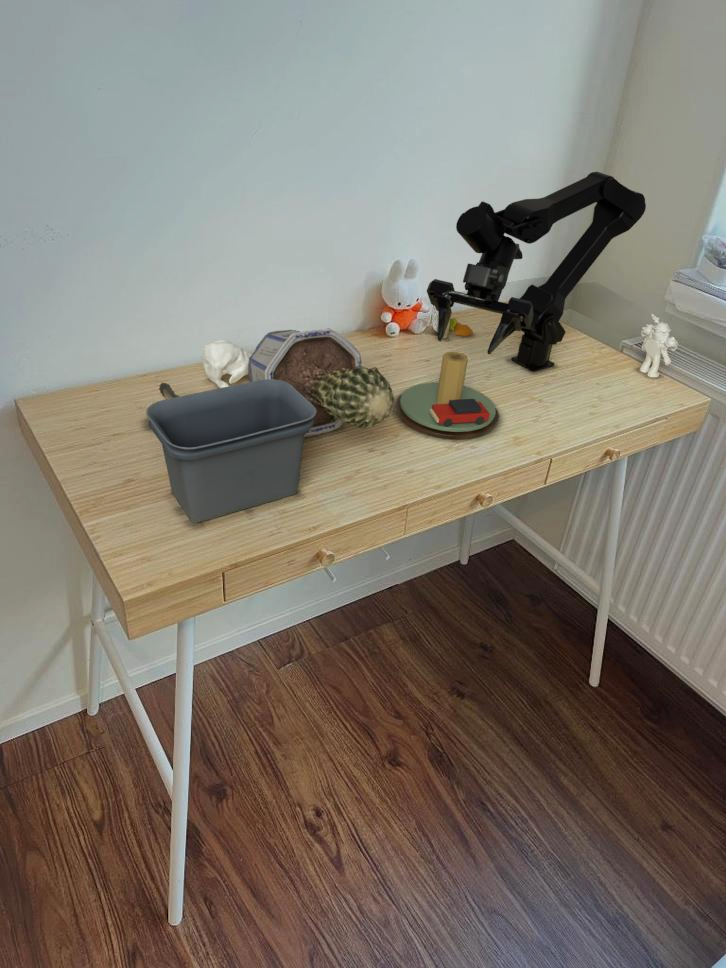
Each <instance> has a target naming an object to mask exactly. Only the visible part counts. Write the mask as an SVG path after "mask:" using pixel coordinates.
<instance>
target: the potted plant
mask: <svg viewBox="0 0 726 968" xmlns="http://www.w3.org/2000/svg"><path fill="white" fill-rule="evenodd" d="M251 354H252V355H251V357H250V358H249V362H248V375H247V376H248V382H253V381H259V380H266V379H274V380H281V381H285V382H287V383H289V384H290V385H292V386H293V387H294V388H295V389H296V390H297V391H298V392H299V393H300V394H302V395H303V396H304V397H305V398H306V399H307V400H308V401H309V402H310V403H311V404H312V405H313V406H314V407H315V408H316V411H317V412H316V415H315V416H314V417H313V421H314V425H313V427H312V428H311V429H310V430H308V431H306V432H305V435H304V438H308V437H313V436H318V435H320V434H326V433H329V432H332V431H335V430H337V429H340V428H341V426H342V425H343V424H346V425H347V426H351V427H352V426H354V427H357V428H360V429H366V428H368V427H372V428H373V427H375V426H377V425H378V424H380V423H382V422H384V421H385V420H386V419H387V418H390V413H391V412H392V411H393V409H394V407H393V405H394V403H396V399H395V397H394V392H393V390H392V387H391V384H390V381H388V380H387V378H386V377H384V375H383V374H382V373H381V372H380V371H379V368H378V367H377V366H374V367H371V368H369V367H365V366H364V365H363V364H362V358H361V357H362V356H361V352H360V351H359V349H358V348H357V347H356V346H355V345H354V344H353V343H351V342H350V341H349V340H348V339H347V338H346V337H344V336H343V335H341V334H340V333H338V332H337V331H335V330H334V329H331V328H327V327H326V328H321V329H312V330H302V331H300V330H296V329H285V330H284V329H283V330H273V331H269V332H267V333H266V334H264V336H263V337H262V339H261V340H260V341H259V343H257V345H256V347H255V349H254V351H253V352H252V353H251Z"/></svg>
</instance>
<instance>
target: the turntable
mask: <svg viewBox="0 0 726 968" xmlns="http://www.w3.org/2000/svg"><path fill="white" fill-rule="evenodd" d="M468 361H469V357H468V355H467V354H465V353H463V352H459V351H447V352H444V353H443V354H442V359H441V366H440V372H439V379H438V381H436V382H435V381H433V382H431V381H430V382H425V383H418V384H416V385H412V386H411V387H409V388H407V389H406V390H405V391H404V392H403V393H401V394H402V396H401V399H400V406H401V409H402V411H403V412H404V413H405V414H406V415H407V416H408V417H409V418H410V419H412V420H413V421H415V422H417V423H419V424H421V425H424V426H426V427H429V428H433V429H437V430H442V431H450V432H467V431H473V430H478V429H481V428H483V427H485V426H487V425H489V424H490V423H491V422H492V421H493V420H494V417H495V413H496V409H497V408H496V406H495V404H494V403H493V401H492V400H491V399H490V398H489V397H488V396H486V395H485V394H484V393H482V392H481V391H478V390H476V389H474V388H472V387H468V386H464V385H465V380H466V373H467V367H468V363H469V362H468ZM495 408H496V409H495Z"/></svg>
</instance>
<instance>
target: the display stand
mask: <svg viewBox="0 0 726 968" xmlns="http://www.w3.org/2000/svg"><path fill="white" fill-rule="evenodd" d="M402 394H403V393H401V394H400V395H399V396H398V398H397V399H396V401H395V413H396V415H397V417H398V418H399V420H400V421H401V422H402V423H403V424H405V425H406V426H407V427H409V428H410V429H412V430H414V431H416V432H418V433H421V434H423V435H427V436H429V437H433V438H438V439H443V440H454V441H455V440H457V441H459V440H462V441H463V440H472V439H477V438H480V437H481V438H482V437H483V436H485V435H488V434H490V433H491V432H492V431H493V430H495V428H496V427H497V426H498V422H499V417H500V416H499V412H498V409H497V408H496V407H495V409H496V413H495V417H494V420H493V421H492V422H491V423H490V424H489V425H487V426H485V427H483V428H481V429H478V430H473V431H467V432H450V431H442V430H437V429H433V428H429V427H426V426H424V425H421V424H419V423H417V422H415V421H413V420H412V419H410V418H409V417H408V416H407V415H406V414H405V413H404V412H403V411H402V409H401V406H400V399H401V396H402Z"/></svg>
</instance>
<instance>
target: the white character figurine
mask: <svg viewBox="0 0 726 968" xmlns="http://www.w3.org/2000/svg"><path fill="white" fill-rule="evenodd" d="M650 315H651V316H650V317H651V320H653V321H654V323H655V324H652V323H651V324H648V323H647V324H645V326H643V327H641V332H640V334H641V337H645V338H644V339H643V343H642V346H641V351H644V352H646V353H645V354H646V355H645V359H644V361H643V362H642V364H641V366H640V367H639V371H640V372H641V373H644V374H647V376H648V377H649V378H659V377H660V372H659V368H660V364H661V359H662V357H663V359H662V360H663V362H664V365H665V366H669V365H671V364H672V360H671V359H672V358H670V356H669V352H668V348H670V349H671V351H672V352H675V351H676V350H677V348H678V347H679V342H678V340H676V337H674V336H671V337H670V333H671V332H672V329H671V328H670V326H669V324H668V323H667V322H663V321H660V319H661V317H658V316H656V315H654V313H651V314H650ZM651 365H652V366H651Z"/></svg>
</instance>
